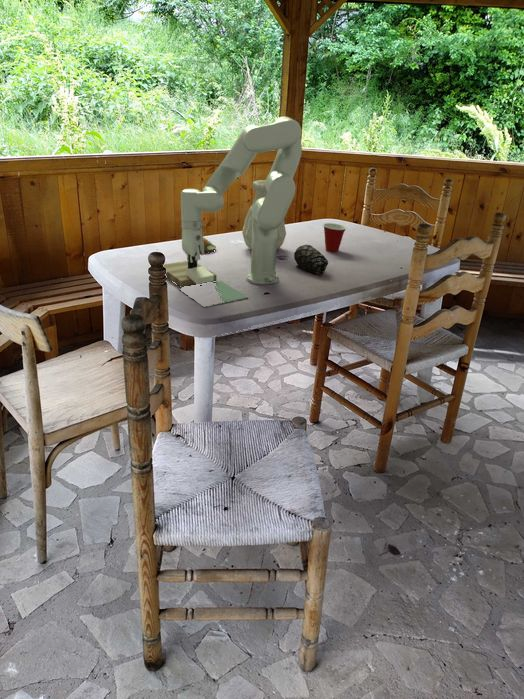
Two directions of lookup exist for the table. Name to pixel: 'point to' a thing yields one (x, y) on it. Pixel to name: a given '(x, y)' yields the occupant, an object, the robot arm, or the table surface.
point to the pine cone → (310, 260)
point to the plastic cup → (333, 236)
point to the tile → (200, 275)
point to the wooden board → (181, 273)
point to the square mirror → (228, 292)
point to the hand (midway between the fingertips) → (192, 271)
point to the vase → (247, 228)
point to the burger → (208, 246)
